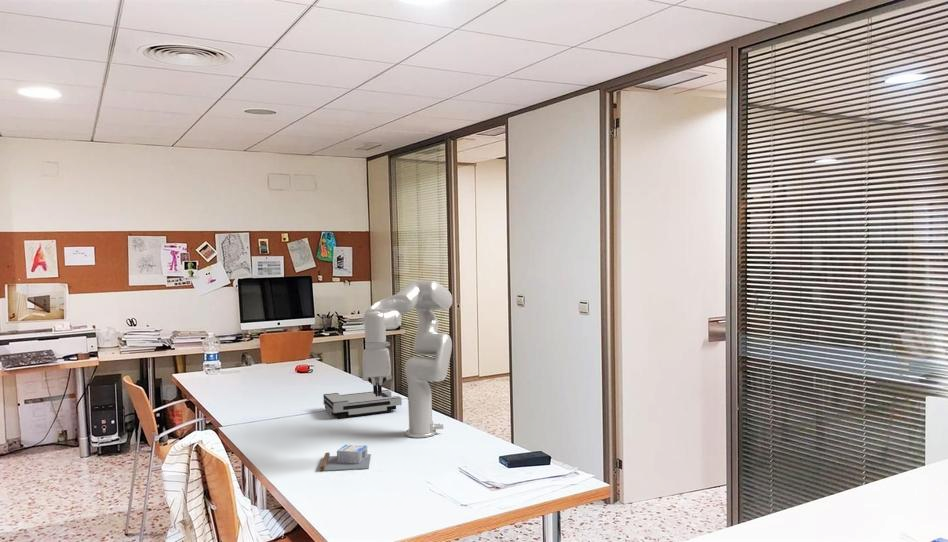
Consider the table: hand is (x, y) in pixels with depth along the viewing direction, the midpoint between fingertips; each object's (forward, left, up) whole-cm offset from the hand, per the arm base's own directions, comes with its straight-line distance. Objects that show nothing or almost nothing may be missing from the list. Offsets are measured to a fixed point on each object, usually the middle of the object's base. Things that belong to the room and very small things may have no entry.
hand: (377, 395), depth 247 cm
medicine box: (+5, +5, -20) cm, 21 cm away
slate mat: (+11, +5, -23) cm, 26 cm away
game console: (+11, -74, -23) cm, 78 cm away
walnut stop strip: (+19, +5, -23) cm, 30 cm away
